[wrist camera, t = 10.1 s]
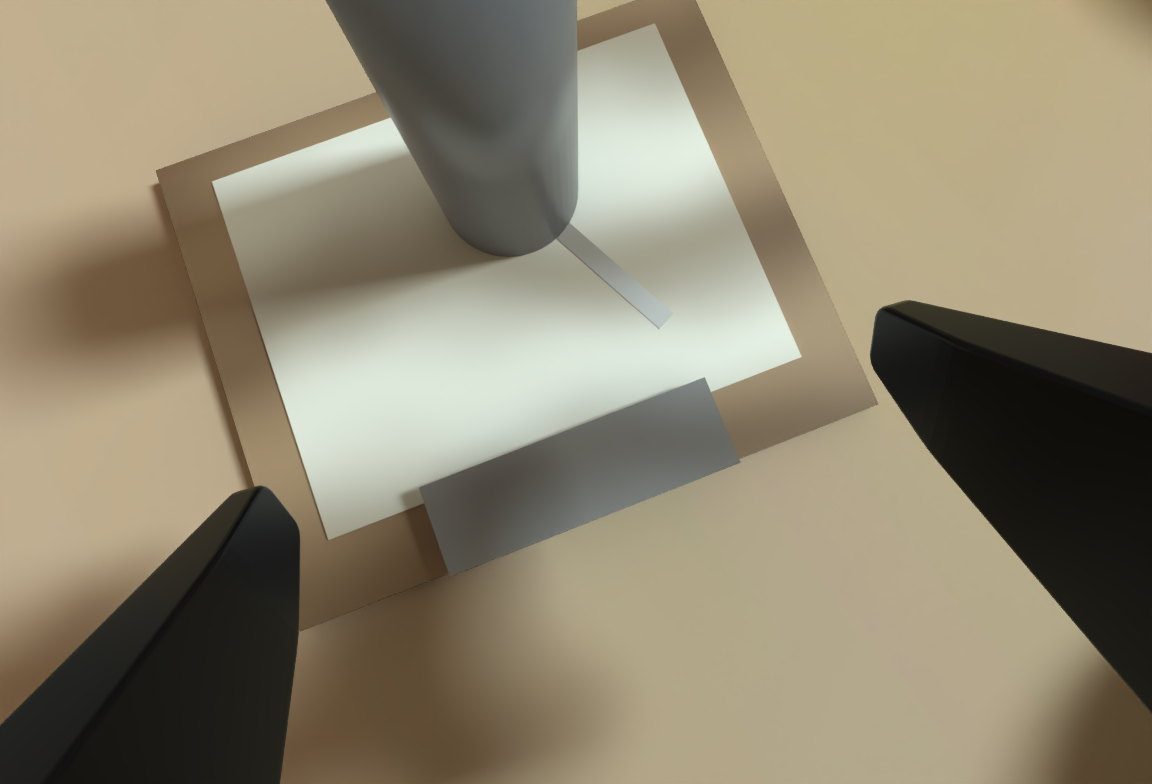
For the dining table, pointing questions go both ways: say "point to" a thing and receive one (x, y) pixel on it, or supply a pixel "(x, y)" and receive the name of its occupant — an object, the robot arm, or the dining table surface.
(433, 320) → the clipboard
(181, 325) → the dining table surface
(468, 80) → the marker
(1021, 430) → the robot arm
